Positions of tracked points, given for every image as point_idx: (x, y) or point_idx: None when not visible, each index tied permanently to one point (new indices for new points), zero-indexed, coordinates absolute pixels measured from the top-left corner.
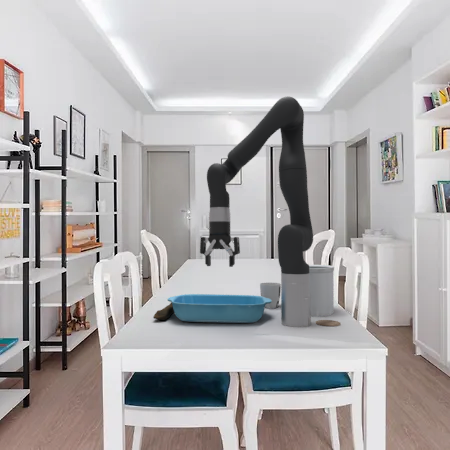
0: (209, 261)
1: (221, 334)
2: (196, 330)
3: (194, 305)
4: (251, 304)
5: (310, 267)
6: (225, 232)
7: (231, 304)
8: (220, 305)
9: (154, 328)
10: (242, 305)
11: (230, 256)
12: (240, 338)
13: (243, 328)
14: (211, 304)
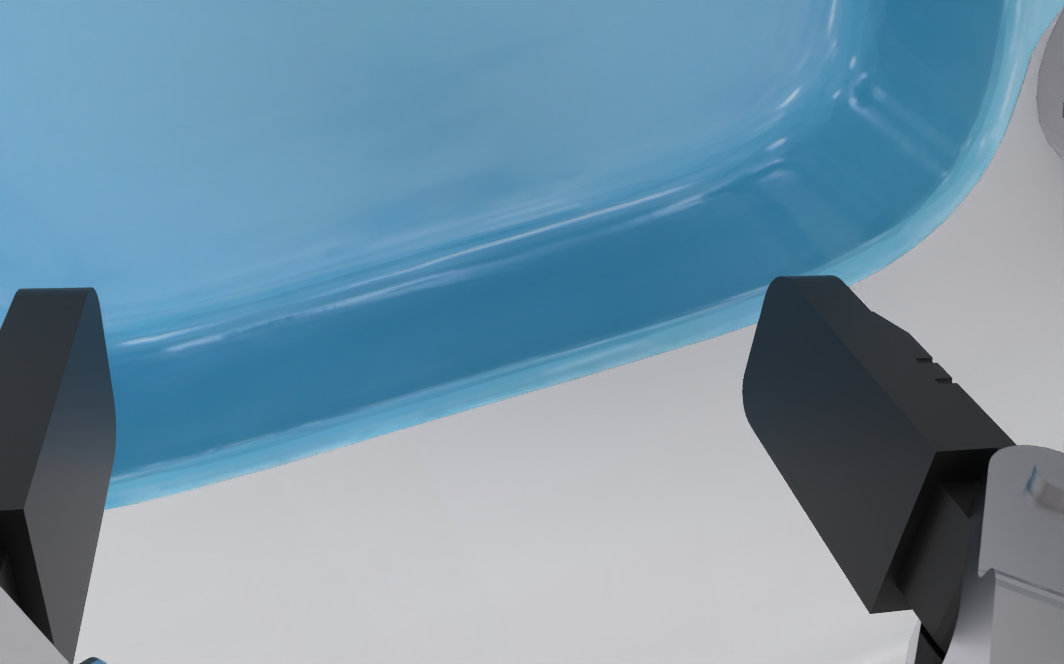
0: (85, 461)
1: (574, 547)
2: (350, 527)
3: (203, 475)
4: (854, 280)
5: None
6: None
7: (634, 359)
8: (507, 391)
9: None
10: (752, 320)
11: (905, 605)
12: (715, 577)
13: (705, 351)
14: (405, 427)
